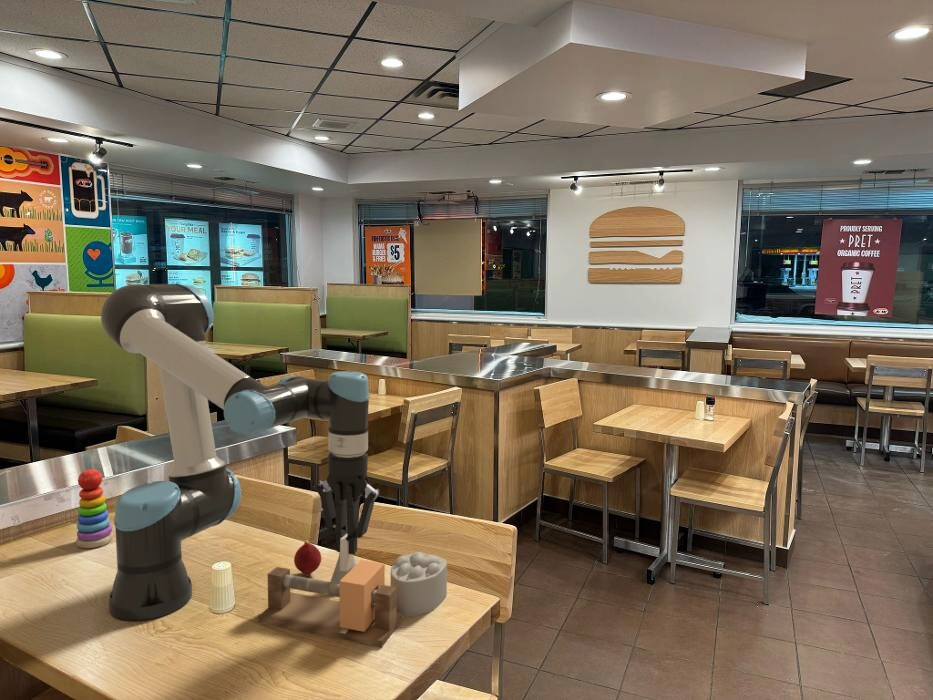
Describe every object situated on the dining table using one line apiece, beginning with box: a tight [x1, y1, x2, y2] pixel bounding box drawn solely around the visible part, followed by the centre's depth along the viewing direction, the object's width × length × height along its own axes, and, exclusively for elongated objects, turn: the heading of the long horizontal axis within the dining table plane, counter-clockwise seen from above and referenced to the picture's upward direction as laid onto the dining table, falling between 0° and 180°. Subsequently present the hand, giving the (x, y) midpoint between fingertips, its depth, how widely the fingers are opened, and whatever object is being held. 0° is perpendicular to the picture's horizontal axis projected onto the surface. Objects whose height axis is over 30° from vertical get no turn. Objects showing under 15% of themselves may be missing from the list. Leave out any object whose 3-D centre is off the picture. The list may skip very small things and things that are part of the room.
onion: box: [293, 539, 322, 576], centre depth 139 cm, size 6×6×8 cm
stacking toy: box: [75, 468, 114, 549], centre depth 152 cm, size 8×8×19 cm
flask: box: [329, 552, 358, 584], centre depth 135 cm, size 7×7×10 cm
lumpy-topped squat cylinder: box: [390, 551, 448, 617], centre depth 129 cm, size 10×13×9 cm
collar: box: [339, 559, 386, 632], centre depth 118 cm, size 5×9×9 cm, turn 164°
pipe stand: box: [257, 566, 404, 648], centre depth 120 cm, size 26×10×8 cm, turn 74°
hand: (346, 567), depth 123 cm, fingers closed
